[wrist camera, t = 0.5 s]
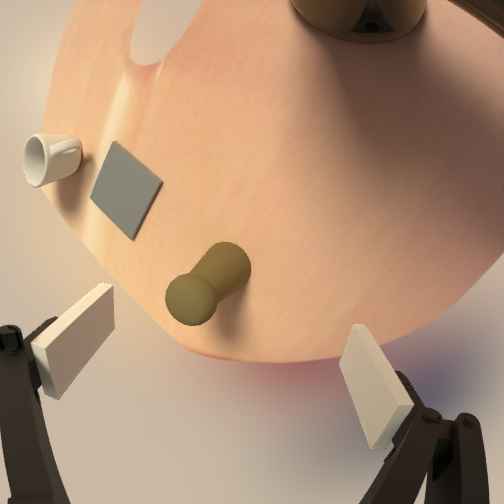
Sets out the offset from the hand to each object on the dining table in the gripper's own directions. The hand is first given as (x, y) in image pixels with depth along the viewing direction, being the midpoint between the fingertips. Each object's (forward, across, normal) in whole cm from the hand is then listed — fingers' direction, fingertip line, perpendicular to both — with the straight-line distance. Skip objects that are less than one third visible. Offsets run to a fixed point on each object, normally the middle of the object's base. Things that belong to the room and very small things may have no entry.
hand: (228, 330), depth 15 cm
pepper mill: (+22, -2, -4) cm, 22 cm away
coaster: (+26, -18, +3) cm, 31 cm away
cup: (+28, -28, +8) cm, 41 cm away
